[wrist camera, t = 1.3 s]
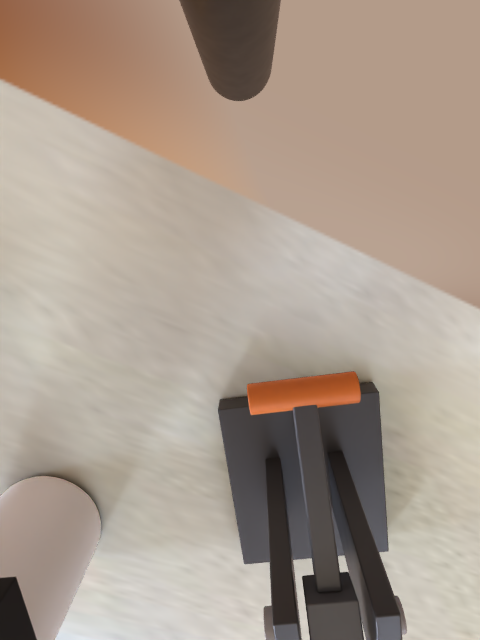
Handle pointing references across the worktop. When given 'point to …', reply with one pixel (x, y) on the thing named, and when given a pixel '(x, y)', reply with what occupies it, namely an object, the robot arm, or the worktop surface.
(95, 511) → the milk bottle
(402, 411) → the worktop surface
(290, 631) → the switch base
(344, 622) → the switch lever
